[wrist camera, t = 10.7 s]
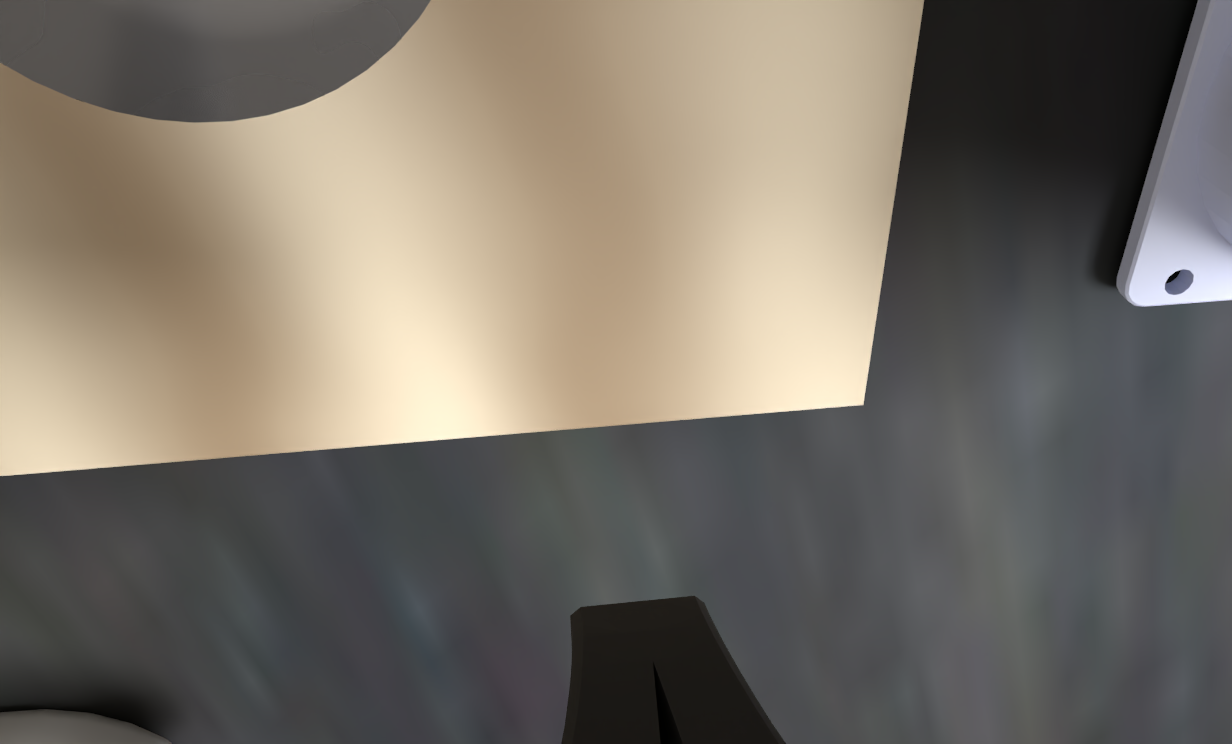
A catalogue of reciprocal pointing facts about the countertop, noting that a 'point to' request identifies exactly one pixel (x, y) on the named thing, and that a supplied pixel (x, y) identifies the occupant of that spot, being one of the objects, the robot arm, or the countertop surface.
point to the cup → (70, 729)
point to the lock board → (461, 237)
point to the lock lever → (199, 51)
